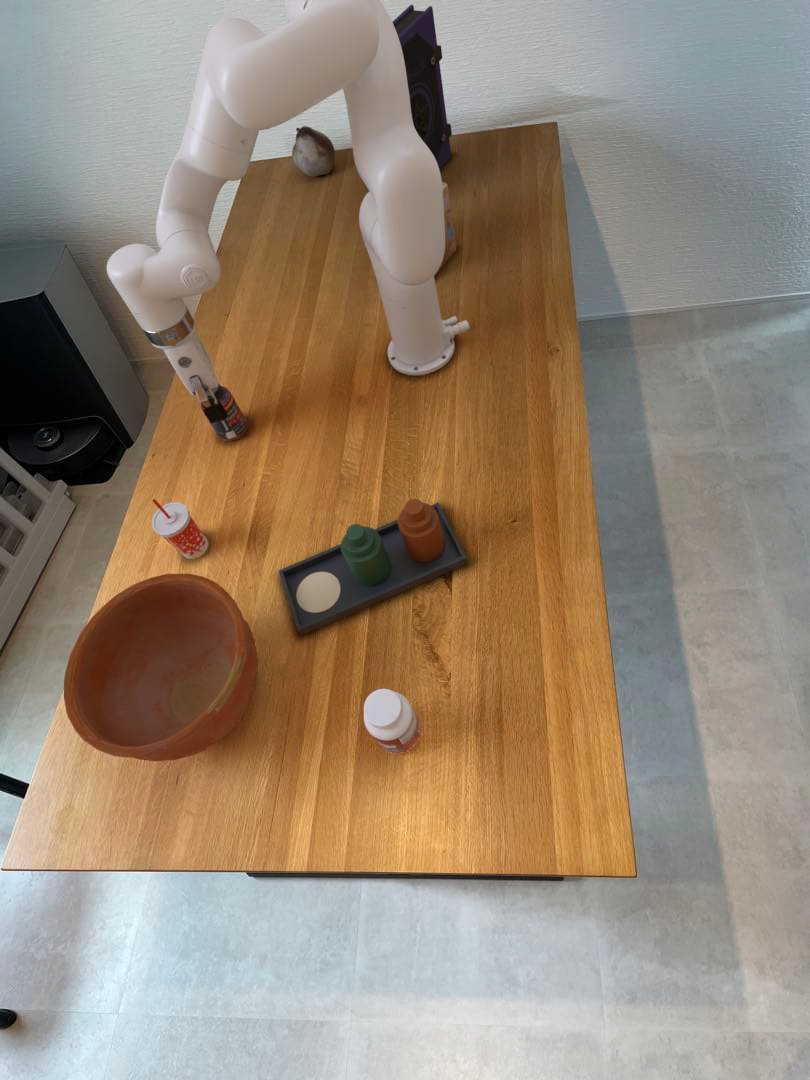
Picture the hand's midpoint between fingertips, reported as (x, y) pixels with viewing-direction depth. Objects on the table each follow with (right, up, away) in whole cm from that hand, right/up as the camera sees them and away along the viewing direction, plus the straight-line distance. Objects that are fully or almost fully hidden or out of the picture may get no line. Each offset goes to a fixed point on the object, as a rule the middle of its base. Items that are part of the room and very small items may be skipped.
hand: (214, 400), depth 119 cm
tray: (+29, -29, -14) cm, 43 cm away
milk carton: (+37, +34, +22) cm, 55 cm away
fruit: (+13, +65, +47) cm, 82 cm away
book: (+36, +57, +37) cm, 77 cm away
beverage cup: (-2, -26, -5) cm, 26 cm away
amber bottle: (+37, -25, -14) cm, 47 cm away
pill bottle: (+33, -50, -28) cm, 66 cm away
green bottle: (+29, -29, -15) cm, 43 cm away
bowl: (+4, -47, -20) cm, 51 cm away
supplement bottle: (+2, -4, +7) cm, 8 cm away
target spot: (+20, -32, -15) cm, 41 cm away
